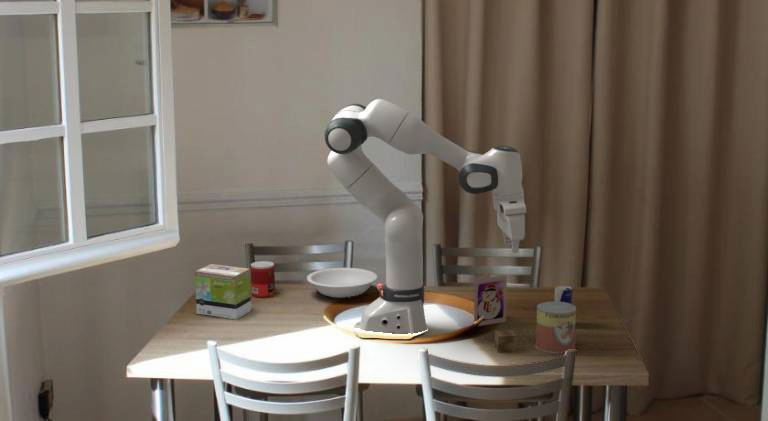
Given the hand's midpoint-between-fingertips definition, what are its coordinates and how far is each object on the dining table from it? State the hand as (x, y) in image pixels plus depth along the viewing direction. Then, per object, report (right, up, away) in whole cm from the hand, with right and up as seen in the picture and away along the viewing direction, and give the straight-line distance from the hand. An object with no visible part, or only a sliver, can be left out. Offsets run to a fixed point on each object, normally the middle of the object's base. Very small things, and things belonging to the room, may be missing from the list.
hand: (511, 248), depth 299 cm
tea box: (-88, -22, +33) cm, 97 cm away
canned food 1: (-78, -18, +52) cm, 96 cm away
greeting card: (-5, -24, +23) cm, 34 cm away
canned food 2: (+13, -29, 0) cm, 31 cm away
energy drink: (+18, -25, +19) cm, 36 cm away
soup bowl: (-51, -18, +52) cm, 75 cm away
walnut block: (-2, -29, -2) cm, 29 cm away
